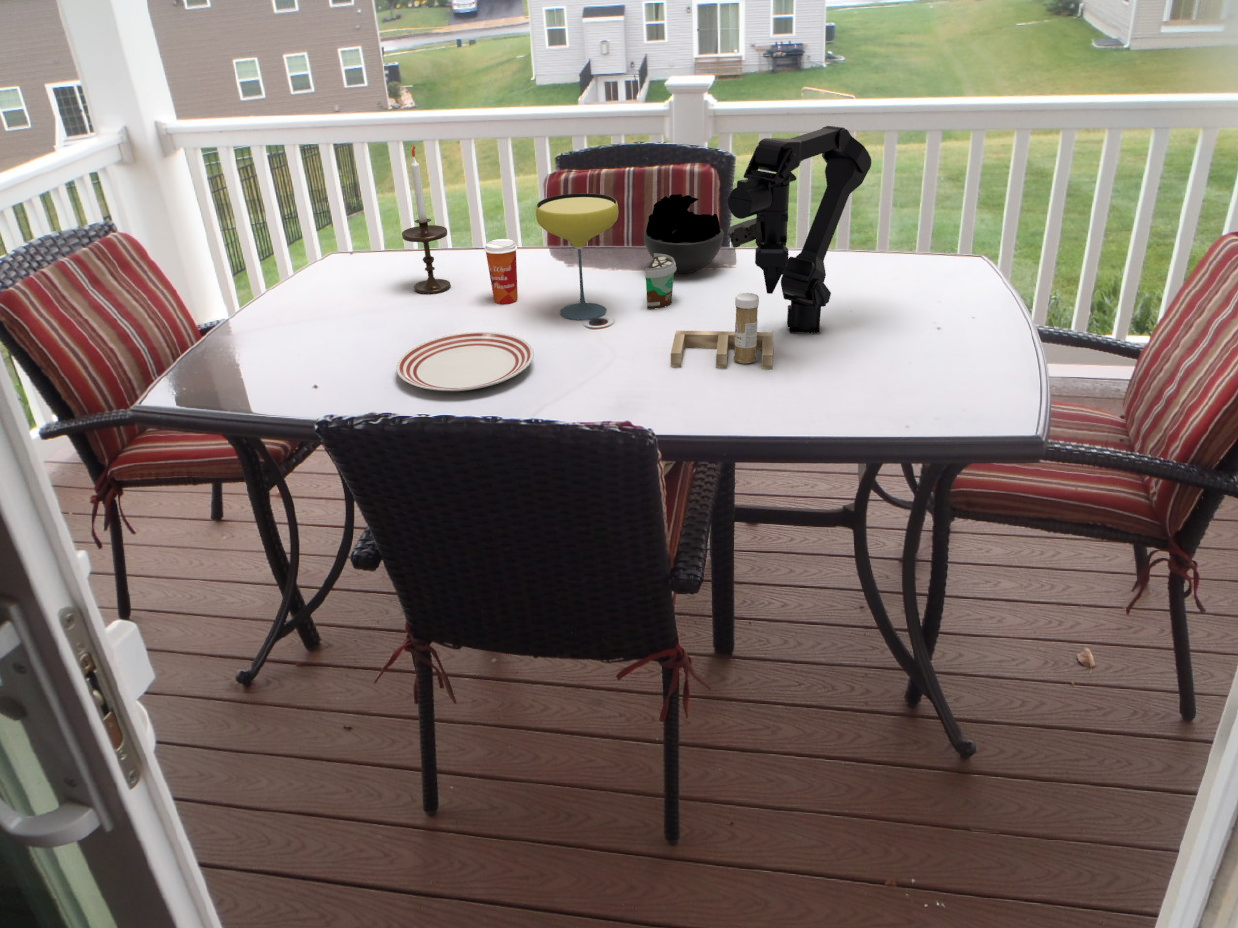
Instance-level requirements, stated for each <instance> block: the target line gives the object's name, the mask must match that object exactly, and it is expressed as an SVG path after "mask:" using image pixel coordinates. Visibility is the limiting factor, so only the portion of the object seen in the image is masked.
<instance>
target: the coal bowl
mask: <svg viewBox="0 0 1238 928" xmlns="http://www.w3.org/2000/svg"><path fill="white" fill-rule="evenodd" d="M698 200H699V198H698V197H697V198H696V197H692V196H691V194H690V195H689V194H687V195H684V196H683V195H682V193H678V194H674V193H673V194H670V195H669V196H666V195H665V196H663V198H661V199H660V200H658V201H656V202H655V203H654V204H653V208H652V213H651V214H650V215H648V220H647V221H648V222H647V225H646V230H645V231H644V233H643V238H644V239H643V240H644V245H645V247H646V249H647V252H648V253H649V255H650V257H651V258H652V259H654V253H657V254H665V255H668V256H671V257H672V258H673V259H674V261H675V264H676V268H677V269H676V271H675V272H674V273H678V274H689V273H694V272H697V271H699V270H701V269H703V268H705V267H706V266H708V265H709V264H710V263H712V261H713V260H714V259H715V258H716V256H717V255H718V253H719V252H720V250H721V247H722V244H723V242H724V241H723V240H724V236H725V232H724V230H723V228H721V225H720V220H719V215H718V214H717V213H714V214H712V215H711V214H708V213H702V214H698V213H695V212H694V211H689V208H690V207H691V205H692V204H694V203H695V202H697V201H698Z"/></svg>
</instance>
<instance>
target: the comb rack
mask: <svg viewBox="0 0 1238 928" xmlns="http://www.w3.org/2000/svg"><path fill="white" fill-rule="evenodd" d="M773 336H774V335H773V331H770V332H769V331H757V342H756V350H761V370H773V361H774V359H773V358H774V357H773V356H774V352H773V349H774V348H773V346H774V345H773V344H774V343H773ZM685 349H716V354H715V358H716V359H715V368H716V369H727V362H728V353H729V349H731V350H735V331H727V330H726V331H724V330H723V331H722V330H721V331H720V330H719V331H718V330H715V331H714V330H712V331H711V330H675V333H674V338H673V343H672V346H671V351H670V368H682V363H683V359H684V353H685Z"/></svg>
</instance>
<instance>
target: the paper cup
mask: <svg viewBox="0 0 1238 928" xmlns="http://www.w3.org/2000/svg"><path fill="white" fill-rule="evenodd" d="M484 247H485V248H484V249H483V250H484V251H483V252H485V254H486V260H487V266H488V272H489V277H490V278H489V280H490V285H491V290H492V295H493V300H494V302H495V304H497V305H511V304H513V303H516V302H517V301H518V295H519V294H518V272H517V271H518V270H517V268H518V267H517V265H518V264H517V250H518V246H517V244H516V243H515V241H514V240H512V239H508V238H498V239H493V240H490V241H489V242H487V243H485V246H484Z"/></svg>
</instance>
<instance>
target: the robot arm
mask: <svg viewBox="0 0 1238 928" xmlns="http://www.w3.org/2000/svg"><path fill="white" fill-rule="evenodd" d="M818 155H819V156H820V155H821V157H822V159H823V160H824V162H825V163H826V165H825V169H824V174H825V175H824V176H825V181H826V187H825V190H824V192H823V196H822V198H821V200H820V203H819V205H818V208H817V211H816V213H815V217H813V221H812V224H811V226H810V228H809V232H808V234H807V236H806V239H805V242H804V244H803V247H802V249H801V252H799V254H797V255H796V256H795V257H794V256H789V254H790V253H789V248H788V247H787V246H786V245H787V242H788V222H789V199H790V183H792V182H795V181H797V178H798V177H797V175H795V174H794V173H793V171H794V170H796V169H797V168H799V167H800V166H801V165H800V164H801V163H802V161H804V160H807V159H810V158H813V157H816V156H818ZM871 167H872V158H871V156H870V153H869V151H868V149H867V148H866V147H865V146H864V145H863V143H861V142H860V141H858V140H857V139H855V137H853V135H851V133H850V131H849V130H848V129H846V128H845V127H840V126H834V125H826V126H824V127H821V128H820V129H817V130H814V131H811V132H807V133H804V134H801V135H798V136H794V137H792V138H776V137H775V138H773V137H772V138H771V137H768V138H763V139H761V140H759V142H758V144H757V146H756V148H755V149H754V152H753V154H752V156H751V158H750V160H749V163H748V165H747V167H746V169H745V172H744V173H743V178H744V179H739V180H737V182H736V187H735V188H733V189H732V190H731V191H730V193H729V195H728V197H727V206H728V209H729V212H730V213H731V215H732V216H733V217H735V218H736V219H740V220H741V219H746V218H750V217H752V216H753V217H754V216H756V217H755V218H752V219H747V220H745V221H742V222H739V223H737V224H734V225H731V226H729V227H728V231H727V234H728V237H729V240H730V241H729V242H731V245H732V248H733V249H735V248H738V247H740V246H742V245H744V244H747V243H750V242H753V241H754V243H755V245H756V246H757V247H756V248H755V254H754V255H755V257H754V260H755V261H754V264H755V266H756V267H758V268H759V269H761V270H762V272H763V273H762V274H763V278H764V282H765V283H764V284H765V289H766V294H769V295H772V294H773V293H774V291H775V289H776V287H777V285H778V283H779V281H780V286H781V292H782V296H783V300H786V301H787V300H788V301H790V304H789V305H787V314H786V315H787V317H786V327H787V328H788V331H789V334H820V333H821V326H820V325H821V313H822V312H821V311H822V307H826V306H827V304H829V302H830V300H831V295H832V292H831V291H830V290H829V288H828V286H826V284H825V280H826V275H827V273H826V267H825V257H826V255H827V253H828V250H829V247H830V245H831V243H832V240H833V237H834V235H835V232H836V230H837V227H838V224H839V223H840V219H841V218H842V216H843V215H842V214H843V213H844V209H845V207H846V204H847V202H848V199H849V196H850V195H851V194H852V193H853V192H854V191H855V190H856V189H857V188H859V187H860V186H861V185H862V184H863V182H864V180H865V179H866V177H867V174H868V173H869V171H870V169H871Z"/></svg>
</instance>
